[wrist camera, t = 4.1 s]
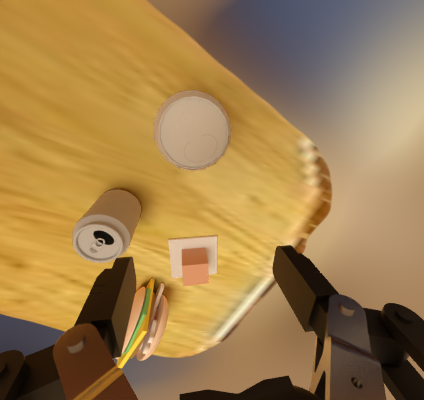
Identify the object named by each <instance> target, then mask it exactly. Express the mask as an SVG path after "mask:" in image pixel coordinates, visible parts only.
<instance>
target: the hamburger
mask: <svg viewBox="0 0 424 400" xmlns="http://www.w3.org/2000/svg"><path fill="white" fill-rule="evenodd" d="M154 281H155V279H153V278H151V280H150V281H149V283H148V285H147V286H146V288H145V287H141V288H140V289H139V290H138V291H137V292H136V293H135V297H134V301H133V305H132V310H131V314H130V319H129V323H128V328H127V332H126V337H125V341H124V345H123V350H122V354H121V357H117V358H116V359H118V361H117V367H118V368H121V369H122V367H123V366H124V364H125V363H126V362H127V360H128V359H131V358H133V357H134V356H135V355H136V354H137V360H139V361H142V360H145V359H147V358H148V357H149V356H150V355H151V354H152V353H153V352H154V351H155V349H156V348H157V346H158V344H159V342H160V341H161V338H162V336H163V334H164V331H165V328H166V324H167V319H168V302H167V299H166V298H165V296H164V295H162V292H163V289H164V284H163V283H160V285H159V287H158V289H157V291H156V293H154V292H153V288H154Z"/></svg>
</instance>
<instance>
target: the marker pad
mask: <svg viewBox="0 0 424 400" xmlns="http://www.w3.org/2000/svg"><path fill="white" fill-rule="evenodd" d="M168 241H169V252H170V262H171V272H172V278H179V277H183V275H182V249H193V248H204V247H206V253H207V258H208V270H209V274H217V235H213V236H200V237H187V238H174V239H168Z"/></svg>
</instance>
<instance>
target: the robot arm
mask: <svg viewBox="0 0 424 400" xmlns="http://www.w3.org/2000/svg"><path fill="white" fill-rule="evenodd" d="M273 275H274V278H275V279H276V281H277V283H278V285H279V287H280V288H281V290H282V292H283V294H284V295H285V297H286V299H287V301H288V302H289V304H290V306H291V308H292V310H293V311H294V313H295V315H296V317H297V318H298V320H299V322H300V324H301V325H302V327H303V329H304V330H305V332H307V331H314V332H315V333H316V335H317V336H316V339H315V349H314V361H313V371H312V379H311V385H310V388H309V391H308V390H305V389H303V388H300V387H297V386H293V385H292V383H291V380H290V378H289V376H284V377H278V378H272V379H266V380H263V381H261V382H259V383H257V384H255V385H254V386H252V387H250V388H249V389H246V390H245V391H243V392H241V393H239V394H234V393H227V392H221V391H215V390H202V391H196V392H191V393H185V394H180V400H386V395H385V388H384V384H385V385H386V386H387V388H388V389H389V391H390V392H391V394H392V395H393V396H394V398H395V399H396V400H424V379H423V378H422V377H421V375H420V374H419V373H418V372H417V371H416V369H415V368H414V367H413V366H412V365H411V364H410V362H409V361H408V360H407V358H408V357H409V355H410V357H411V358H412V359H413V360H414V361H415V362H416V363H417V365H418V366H419V367H420V368H421V369H422V370H423V371H424V320H423V319H422V318H420V317H419V316H418V315H417V314H416V313H415V312H413V311H411V310H410V309H408V308H406V307H404V306H402V305H399V304H395V303H387V304H385V305H384V307H383V309H382V311H379V310H373V309H367V308H362V306H361V305H360V304H359V303H358V302H356V301H355V300H353V299H352V298H350V297H347V296H345V295H341V294H339V293H338V292H337V291H336V290H335V289H334V287H333V286H332V285H331V284H330V283H329V282H328V280H327V279H326V278H325V277H324V276H323V275H322V273H320V271H319V270H318V269H317V268H316V267H315V265H314V264H313V263H312V262H311V261H310V259H308V258H307V257H305V256H304V255H302V254H301V253H300V254H298V253H297V252H296V250H295V249H294V248H293V247H292V246H291V245H286V246H277V248H276V251H275V257H274V262H273ZM135 292H136V275H135V269H134V262H133V258H132V257H121V258H116V260H115V262H114V265H113V267H112V268H111V269H105V270H104V271H103V272H102V273H101V274H100V275H99V276H98V277H97V278H96V281H95V283H94V285H93V288H92V289H91V291H90V295H89V296H88V298H87V300H86V302H85V304H84V306H83V308H82V310H81V313H80V315H79V317H78V319H77V321H76V323H75V325H74V327H72V328H70V329H69V330H67V331H66V332H65V333H64V334H63V335H62V336H61V337H60V338H59V339H58V340H57V342H56V343H55V344H54V345H52V346H50V347H48V348H45V349H43V350H40V351H38V352H35V353H33V354H30V355H28V356H25V357H24V355H23V354H22V353H21V352H20V351H17V350H11V351H6V352H3V353H0V400H138V398H137V396H136V394H135V393H134V391H133V389H132V388H131V386H130V384H129V382H128V380H127V378H126V376H125V375H124V373H123V371H122V370H121V368H118V367H117V365H116V364H115V362H114V360H113V358H117V357H121V354H122V350H123V345H124V341H125V337H126V332H127V328H128V323H129V319H130V314H131V310H132V305H133V301H134V297H135Z"/></svg>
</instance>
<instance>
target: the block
mask: <svg viewBox="0 0 424 400" xmlns="http://www.w3.org/2000/svg"><path fill="white" fill-rule="evenodd" d="M182 275H183V286H188V285H197V284H207V283H209V270H208V258H207V253H206V247H204V248H193V249H182Z"/></svg>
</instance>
